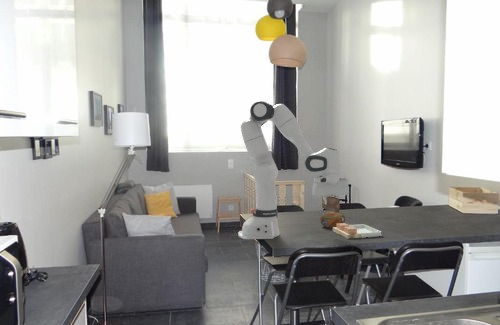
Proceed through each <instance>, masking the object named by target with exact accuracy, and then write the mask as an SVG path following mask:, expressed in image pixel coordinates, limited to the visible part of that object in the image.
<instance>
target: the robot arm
mask: <svg viewBox="0 0 500 325" xmlns="http://www.w3.org/2000/svg"><path fill="white" fill-rule="evenodd" d="M249 113H250V117H249V118H248V119H247V120H244V121H243V122H242V123H241V124H240V131H241V136H242V139H243V144H244V146H245V147H246V151H247V153H248V156H249V158H250V159H251V161H252V164H253V165H254V167H255V168H254V171H253V180H254V188H255V195H256V196H255V201H256V203H255V206H256V207H255V208H251V209H250V210H249V211H250V213H252V215H251V217H250V218H248V219H247V220H245V221H244V222H243V224H242V229H241V230H239V231H238V232H237V235H238V237H239V238H240V239H243V240H270V239H271V240H273V239H274V238H277V237H279V236H280V230H279V225H278V217H279V216H278V215H279V214H278V213H279V211H278V208H277V207H278V206H277V204H278V203H277V198H278V197H277V188H276V179H277V177H278V174H279V170H278V167H277V164H276V163H275V160H274V158H273V156H272V153H271V151H270V150H269V147H268V144H267V141H266V139H265V136H264V133H263V130H262V126H263V125H265V124H266V123H267V122H268V121H269V122H272V123H273V124H274V125H275V127H276V129H278V131H279V132H280V133H281V134H282V135H283V137H284V138H286V139H287V140H288V141H290V143H292V144H293V145H294V146H295V147H296V148H297V150H298V152H299V153H300V154H301V155H302V157H303V160H304V166H305V168H306V169H307V170H308V171H309V172H311V173H317V172H322V174H320V175H318V176H315V177H313V182H312V186H311V194H312V196H314V197H322V196H323V199H324V201H325V204H329V201H327V199H326V198H327V196H332V197H335V198H338V199H339V196H348V195H349V194H350V191H349V190H350V187H349V184H350V183H349V179H348V178H346V177H340V170H339V169H340V164H341V163H340V161H341V160H340V153H339V151H338V150H337V149H336V148H332V147H324V148H323V149H320V151H318V152H315V151H314V150H313V149H312V148H311V146H310V145H309V143H308V142H307V140H306V139H305V136H304V135H303V134H304V133H303V131H302V128H301V125H300V123H299V120H297V118H296V117H295V116H296V115H294V113H293V112H292V111H291V110H290V109H289V107H287V105H285V104H284V103H278V104H276V105H275V104H274V105H272V104H270V103H268V102H266V101H264V100H257V101H255V102H253V104H252V105H251V107H250V110H249Z"/></svg>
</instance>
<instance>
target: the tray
mask: <svg viewBox="0 0 500 325" xmlns="http://www.w3.org/2000/svg"><path fill="white" fill-rule="evenodd" d="M348 225H349V226H352V227H355V228H357V232H358V233H361V238H360V239H365V238H366V237H368V238H377V237H379V236H380V237H383V231H382V230H379V229H376V228H374V227H371V226H369V225H367V224H364V223H361V224H348ZM380 237H379V238H380Z"/></svg>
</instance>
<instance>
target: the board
mask: <svg viewBox="0 0 500 325" xmlns="http://www.w3.org/2000/svg"><path fill="white" fill-rule="evenodd" d="M332 232H333V233H335V234H337V235H340V236H342V237H343V238H345V239H347V240H348V239H359V238H360V239H362V238H361V233H358V232H357V233H353V234H348V233H346V232H344V230H340V229H338V228H336V227H332Z"/></svg>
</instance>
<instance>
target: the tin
mask: <svg viewBox="0 0 500 325" xmlns="http://www.w3.org/2000/svg"><path fill="white" fill-rule="evenodd" d="M319 218H320V219H319V221H320V222H319V223H320V224H321V225H322V226H323V227H325V228H333V227H336V224H337V223H345V221H346V217H345V214H344V213H342V212H340V211H339V212H337V213H334V212H325V213H323V214H321V216H320V217H319Z"/></svg>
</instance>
